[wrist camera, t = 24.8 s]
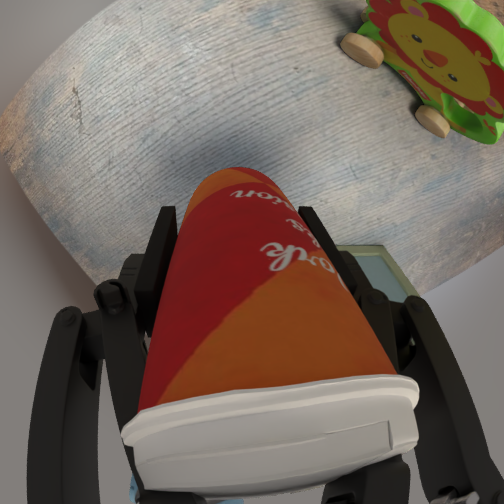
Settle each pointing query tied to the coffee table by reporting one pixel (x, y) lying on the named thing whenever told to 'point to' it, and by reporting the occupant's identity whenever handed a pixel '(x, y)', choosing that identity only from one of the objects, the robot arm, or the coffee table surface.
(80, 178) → the coffee table surface
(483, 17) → the toy lion
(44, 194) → the coffee table surface
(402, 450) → the coffee cup
